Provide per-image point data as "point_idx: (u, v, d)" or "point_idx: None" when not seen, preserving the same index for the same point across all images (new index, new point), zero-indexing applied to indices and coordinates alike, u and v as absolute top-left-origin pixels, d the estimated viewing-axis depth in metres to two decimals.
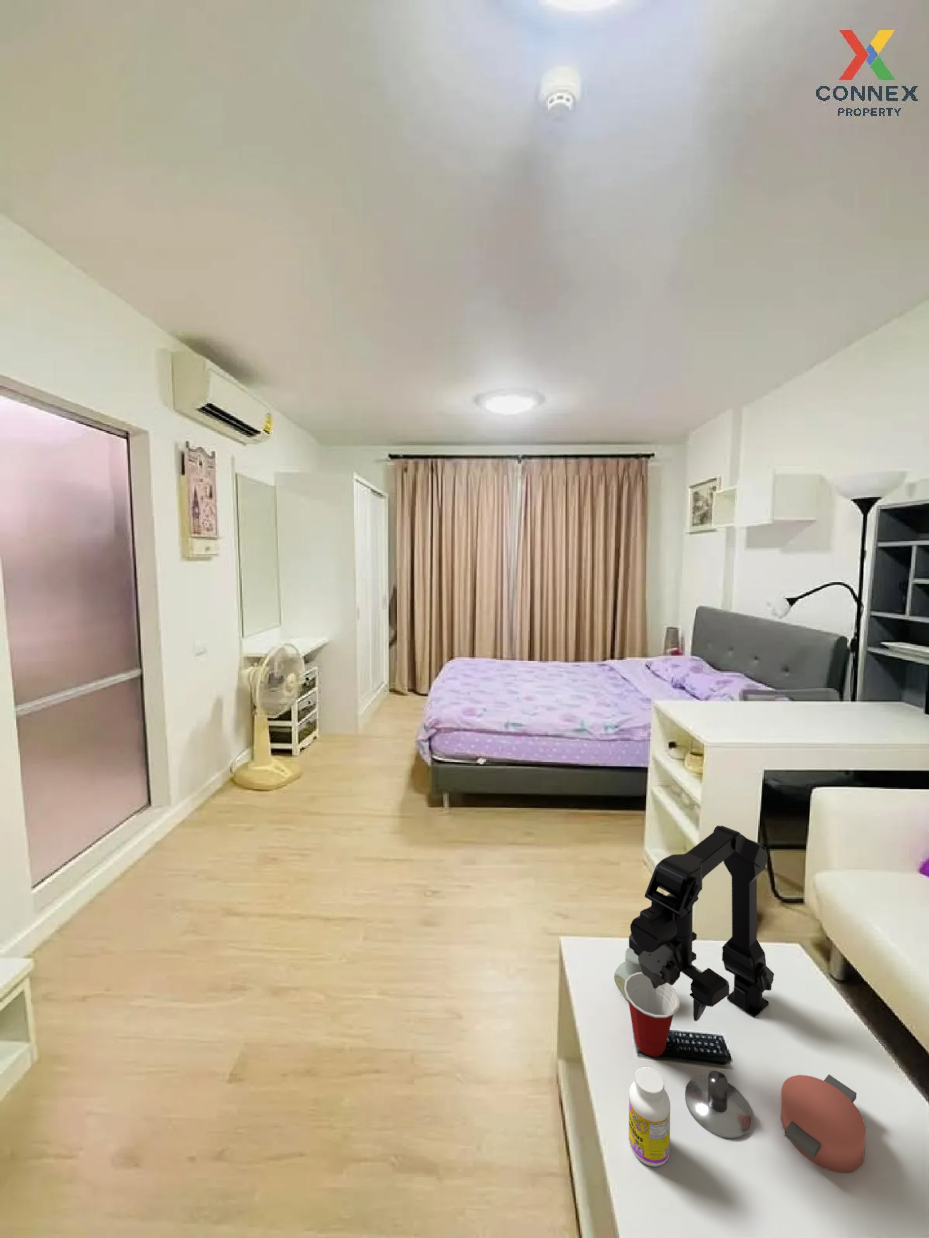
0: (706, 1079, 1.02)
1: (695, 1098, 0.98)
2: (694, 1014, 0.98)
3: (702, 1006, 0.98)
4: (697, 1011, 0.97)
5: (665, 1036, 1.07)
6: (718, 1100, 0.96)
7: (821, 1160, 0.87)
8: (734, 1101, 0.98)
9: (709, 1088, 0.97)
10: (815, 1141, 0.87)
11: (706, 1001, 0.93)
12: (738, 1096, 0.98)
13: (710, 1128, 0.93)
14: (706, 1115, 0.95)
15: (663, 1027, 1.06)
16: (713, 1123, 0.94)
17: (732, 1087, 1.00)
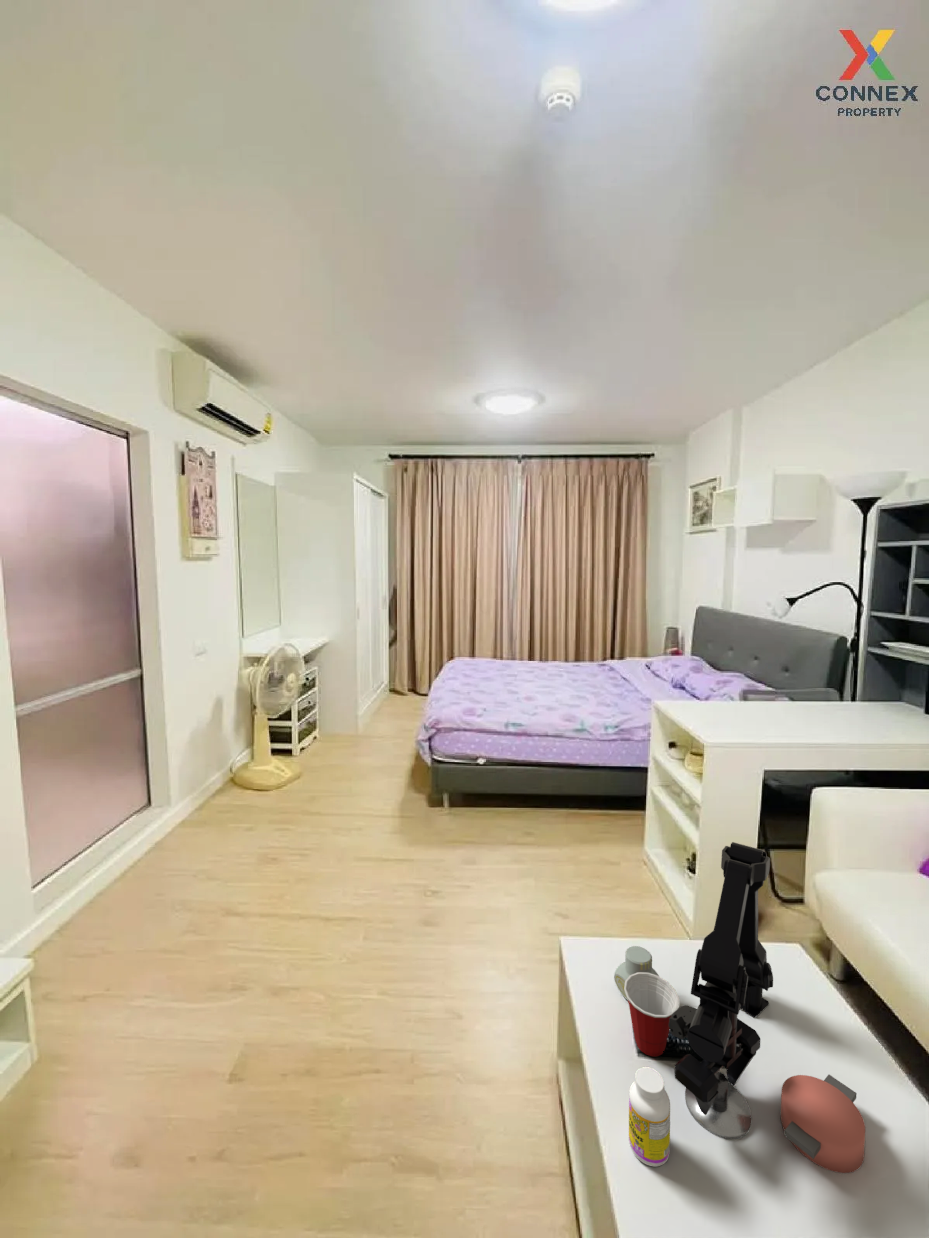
0: None
1: (695, 1098, 0.98)
2: None
3: None
4: None
5: (665, 1036, 1.07)
6: (718, 1100, 0.96)
7: (821, 1160, 0.87)
8: (734, 1101, 0.98)
9: None
10: (815, 1141, 0.87)
11: None
12: (738, 1096, 0.98)
13: (710, 1128, 0.93)
14: (706, 1115, 0.95)
15: (663, 1027, 1.06)
16: (713, 1123, 0.94)
17: (732, 1087, 1.00)
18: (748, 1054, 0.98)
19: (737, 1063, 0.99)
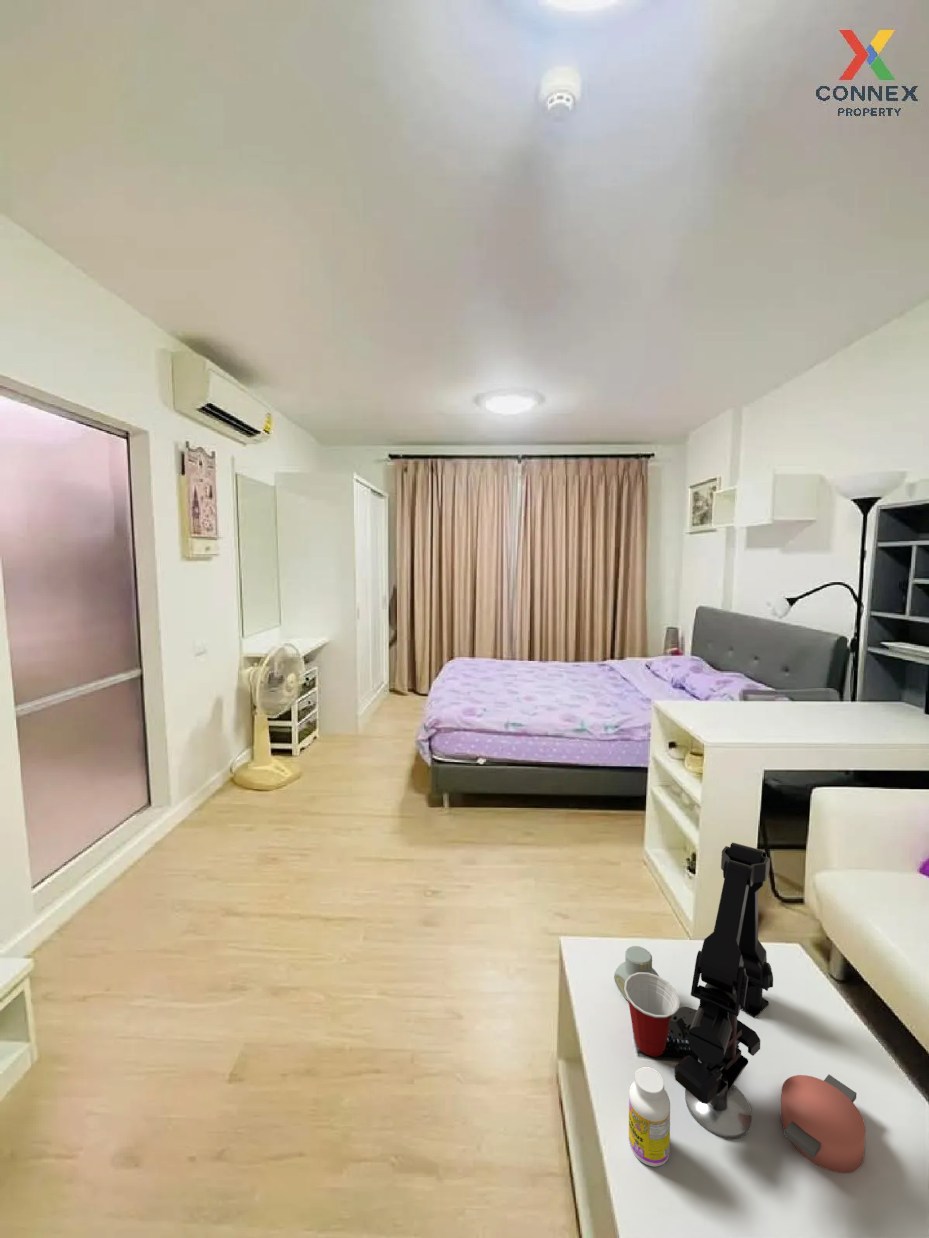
0: None
1: (695, 1097, 0.98)
2: None
3: None
4: None
5: (665, 1036, 1.07)
6: None
7: (821, 1160, 0.87)
8: (734, 1100, 0.97)
9: None
10: (815, 1141, 0.87)
11: None
12: (738, 1095, 0.98)
13: (710, 1126, 0.93)
14: (706, 1113, 0.95)
15: (663, 1027, 1.06)
16: (713, 1121, 0.94)
17: (732, 1086, 1.00)
18: (740, 1064, 0.96)
19: (729, 1073, 0.97)
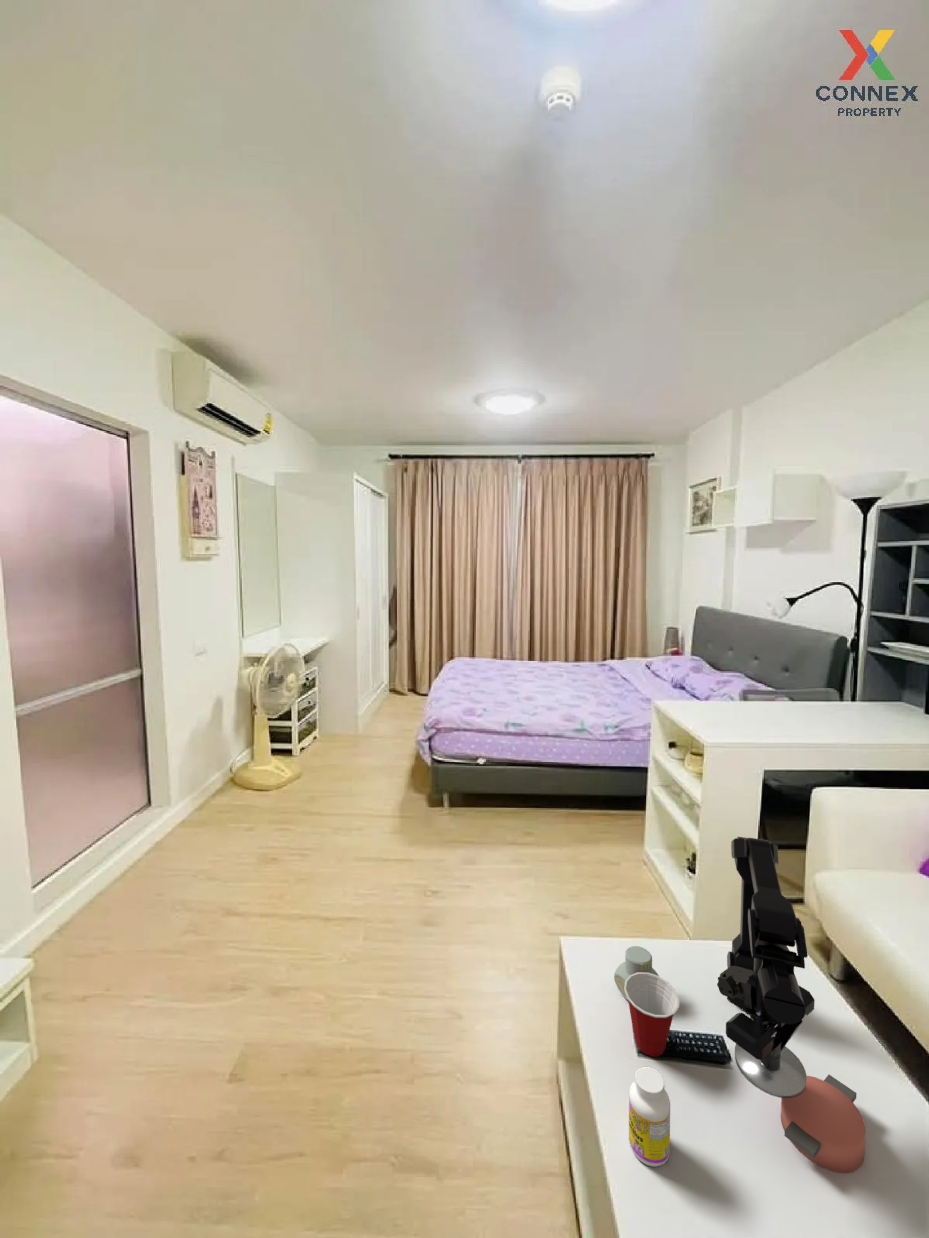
0: None
1: (745, 1057, 0.95)
2: None
3: None
4: None
5: (665, 1036, 1.07)
6: None
7: (821, 1160, 0.87)
8: (787, 1060, 0.94)
9: None
10: (815, 1141, 0.87)
11: None
12: (791, 1056, 0.95)
13: (763, 1085, 0.90)
14: (758, 1073, 0.92)
15: (663, 1027, 1.06)
16: (766, 1081, 0.90)
17: (784, 1047, 0.97)
18: (793, 1023, 0.93)
19: (782, 1032, 0.94)
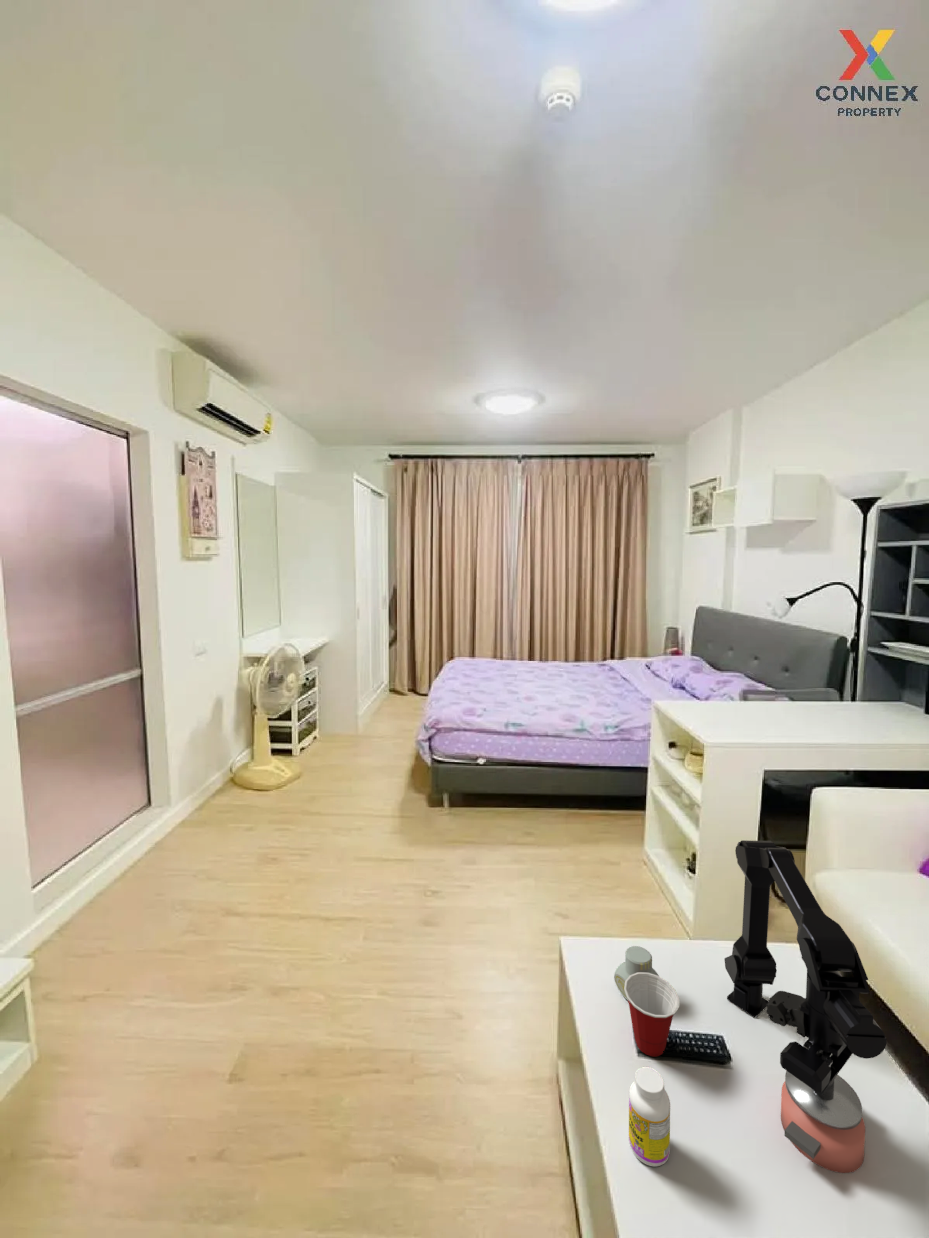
0: None
1: (797, 1086, 0.93)
2: None
3: None
4: None
5: (665, 1036, 1.07)
6: None
7: (821, 1160, 0.87)
8: (840, 1089, 0.92)
9: None
10: (815, 1141, 0.87)
11: None
12: (843, 1083, 0.93)
13: (819, 1116, 0.87)
14: (813, 1103, 0.89)
15: (663, 1027, 1.06)
16: (822, 1111, 0.88)
17: None
18: (847, 1051, 0.91)
19: (834, 1060, 0.91)
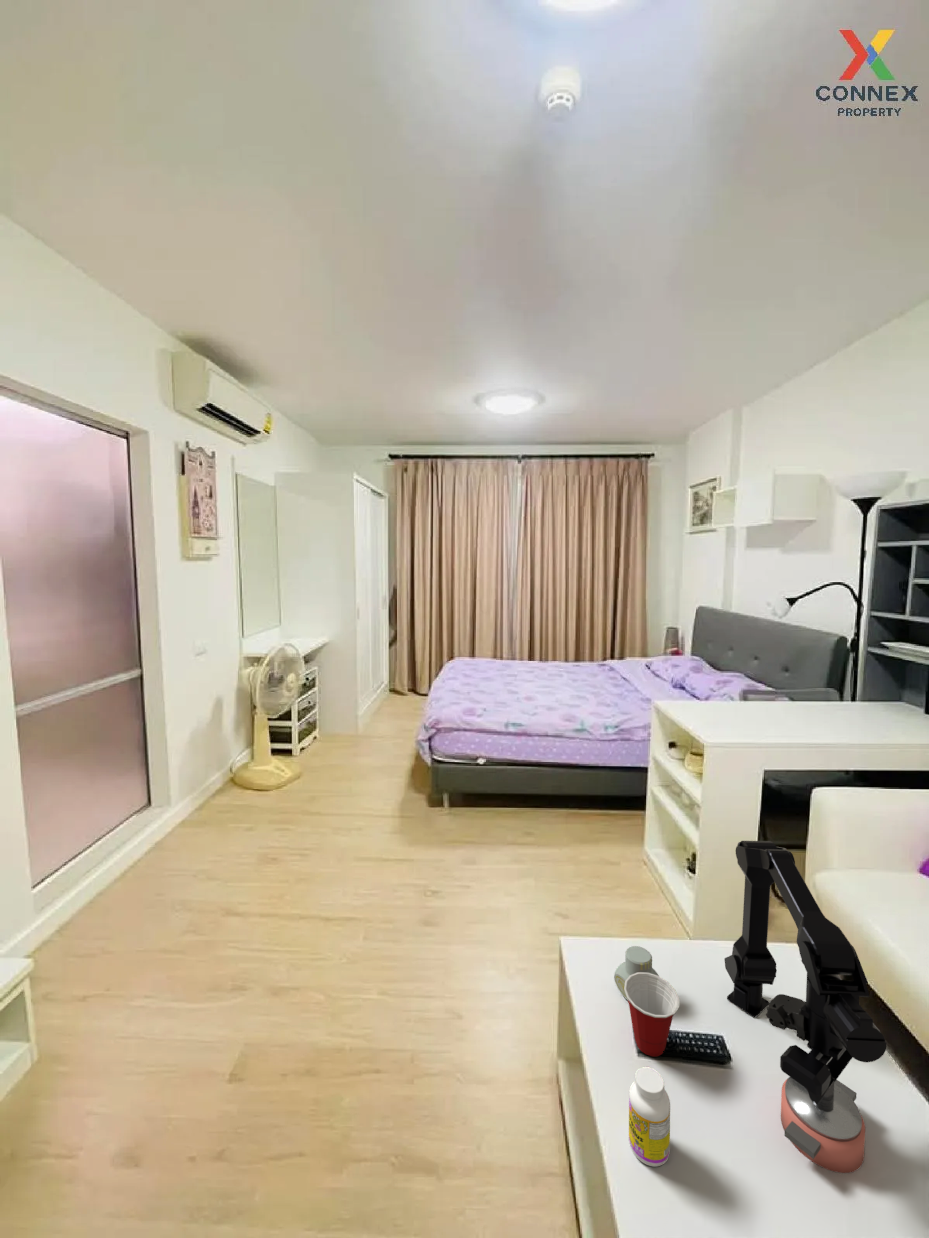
0: None
1: (797, 1097, 0.93)
2: None
3: None
4: None
5: (665, 1036, 1.07)
6: (824, 1099, 0.90)
7: (821, 1160, 0.87)
8: (839, 1100, 0.92)
9: None
10: (815, 1141, 0.87)
11: None
12: (843, 1095, 0.93)
13: (819, 1128, 0.87)
14: (812, 1115, 0.90)
15: (663, 1027, 1.06)
16: (821, 1123, 0.88)
17: (834, 1085, 0.95)
18: None
19: (838, 1060, 0.92)
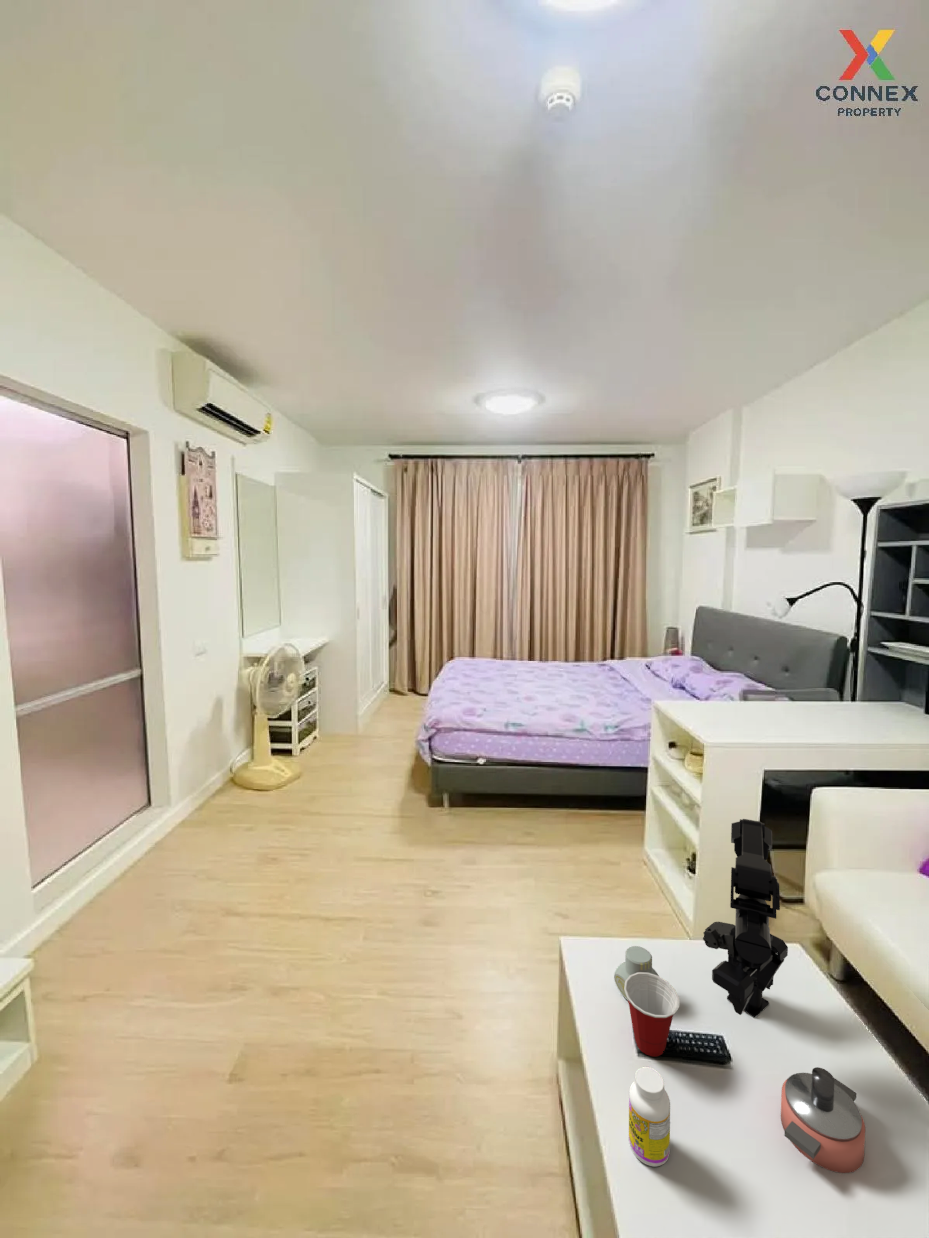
0: (805, 1077, 0.96)
1: (797, 1097, 0.93)
2: None
3: (735, 999, 1.01)
4: None
5: (665, 1036, 1.07)
6: (824, 1099, 0.90)
7: (821, 1160, 0.87)
8: (839, 1100, 0.92)
9: (814, 1086, 0.91)
10: (815, 1141, 0.87)
11: None
12: (843, 1095, 0.93)
13: (819, 1128, 0.87)
14: (812, 1115, 0.90)
15: (663, 1027, 1.06)
16: (822, 1123, 0.88)
17: (834, 1085, 0.95)
18: (777, 961, 1.06)
19: (767, 970, 1.07)
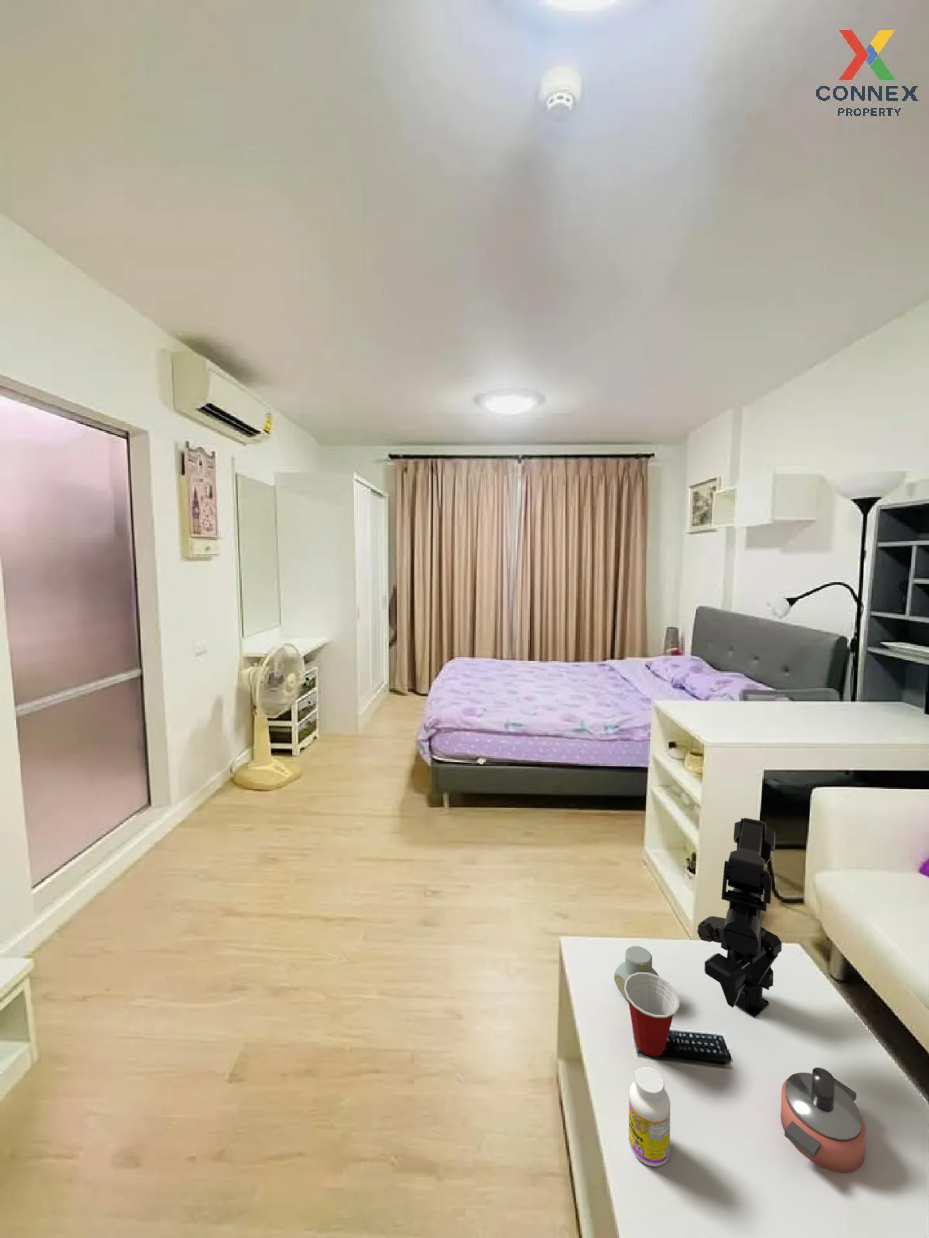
0: (805, 1077, 0.96)
1: (797, 1097, 0.93)
2: None
3: (727, 991, 1.03)
4: None
5: (665, 1036, 1.07)
6: (825, 1099, 0.90)
7: (821, 1160, 0.87)
8: (839, 1100, 0.92)
9: (814, 1086, 0.91)
10: (815, 1141, 0.87)
11: None
12: (843, 1095, 0.93)
13: (819, 1128, 0.87)
14: (812, 1115, 0.90)
15: (663, 1027, 1.06)
16: (821, 1123, 0.88)
17: (835, 1085, 0.95)
18: (770, 956, 1.07)
19: (760, 965, 1.08)
